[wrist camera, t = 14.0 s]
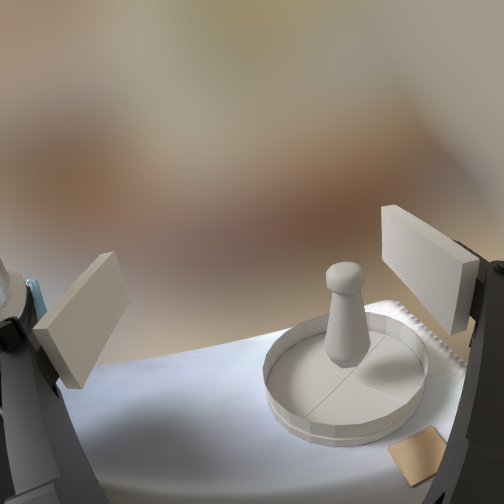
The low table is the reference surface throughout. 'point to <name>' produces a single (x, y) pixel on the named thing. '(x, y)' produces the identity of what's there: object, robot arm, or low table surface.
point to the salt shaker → (346, 316)
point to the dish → (345, 383)
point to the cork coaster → (418, 455)
